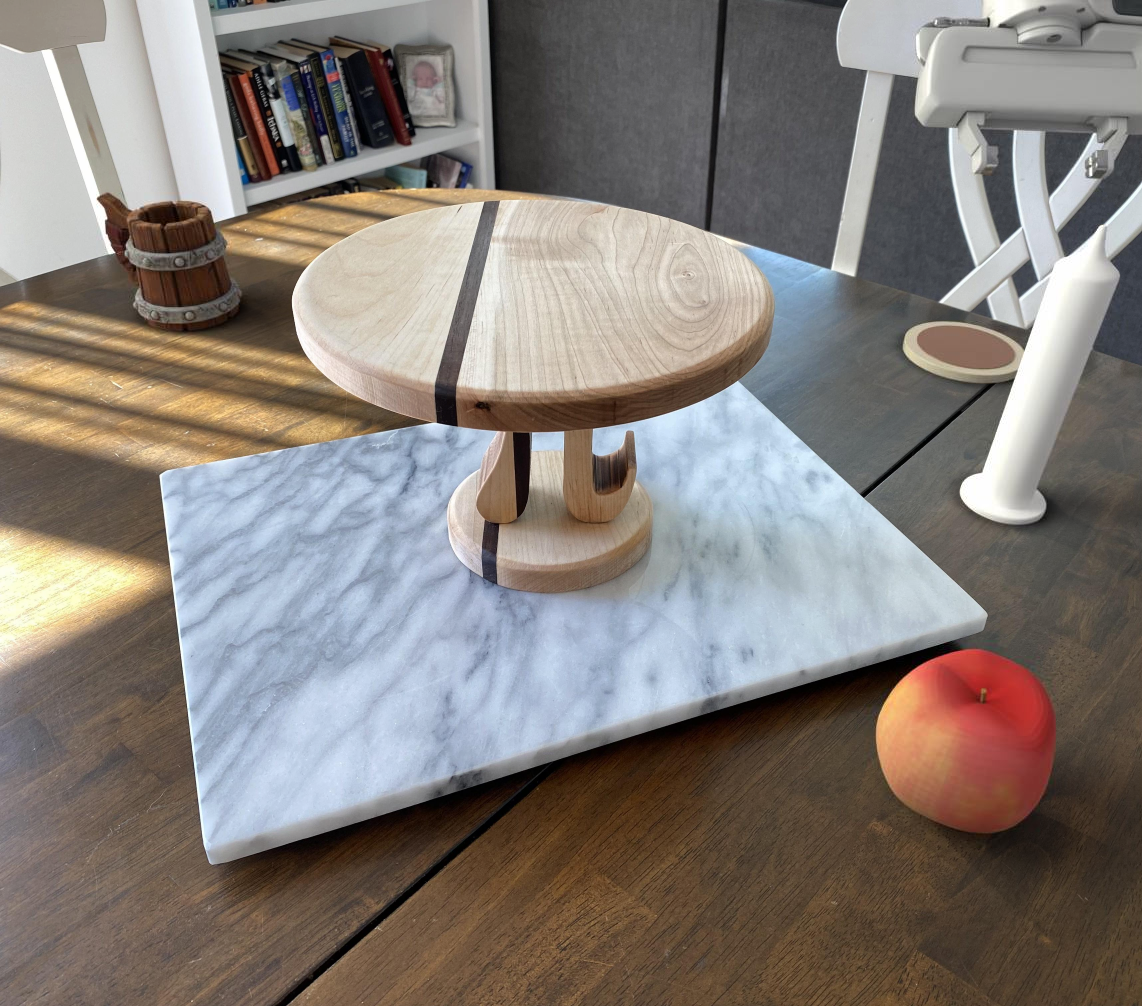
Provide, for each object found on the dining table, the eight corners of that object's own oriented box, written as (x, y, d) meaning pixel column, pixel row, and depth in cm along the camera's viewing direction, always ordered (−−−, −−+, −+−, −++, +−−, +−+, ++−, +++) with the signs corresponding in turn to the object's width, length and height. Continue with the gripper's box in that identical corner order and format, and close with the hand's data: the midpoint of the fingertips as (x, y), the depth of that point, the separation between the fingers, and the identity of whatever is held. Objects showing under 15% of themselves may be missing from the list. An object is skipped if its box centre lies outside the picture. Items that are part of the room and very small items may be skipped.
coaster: (970, 324, 112) (973, 314, 111) (1049, 374, 102) (1053, 363, 101) (879, 339, 108) (881, 328, 107) (951, 392, 98) (955, 382, 97)
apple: (914, 713, 63) (953, 603, 57) (1052, 803, 57) (1111, 692, 51) (831, 793, 58) (865, 682, 52) (974, 901, 52) (1030, 790, 46)
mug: (208, 341, 103) (156, 205, 95) (110, 340, 108) (53, 211, 100) (269, 300, 112) (227, 173, 104) (177, 300, 117) (129, 179, 109)
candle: (1060, 509, 82) (1177, 231, 67) (1011, 536, 79) (1123, 250, 64) (991, 470, 87) (1086, 202, 72) (942, 494, 83) (1031, 219, 68)
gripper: (929, -9, 77) (930, 148, 75) (1181, 0, 76) (1189, 158, 74) (903, 40, 83) (903, 186, 81) (1136, 48, 82) (1142, 196, 80)
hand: (1042, 173), depth 78 cm, fingers open, 8 cm apart
